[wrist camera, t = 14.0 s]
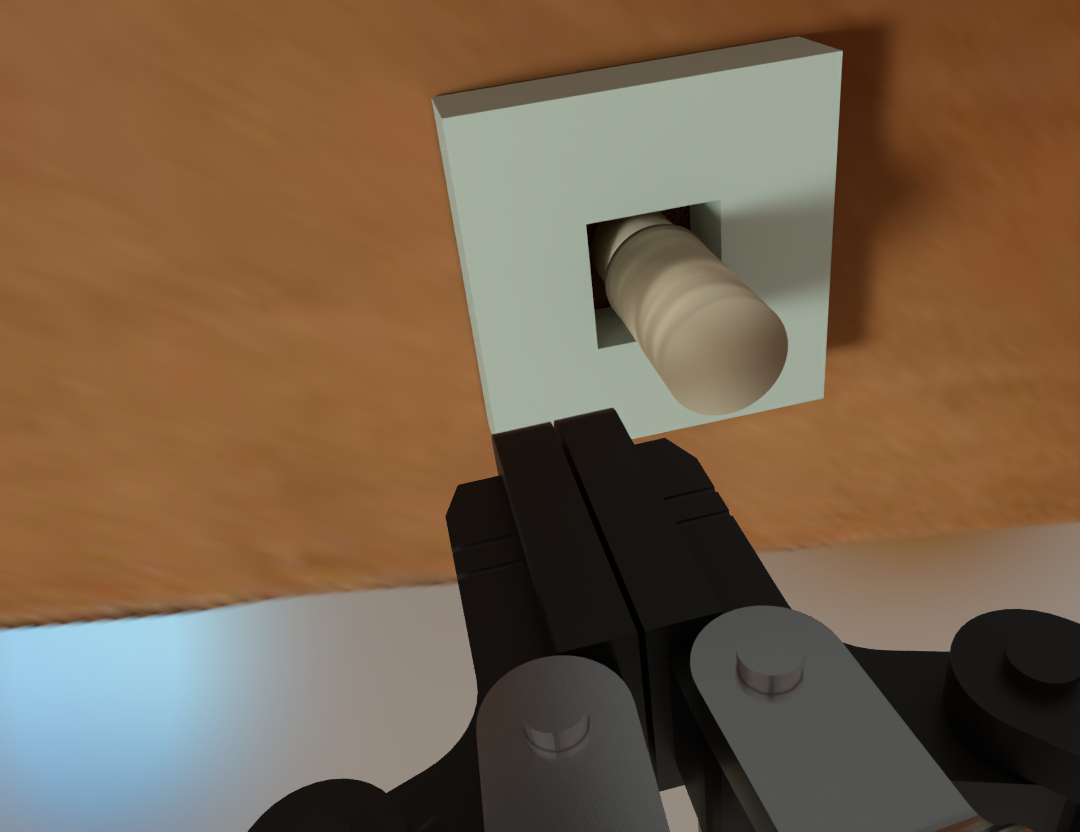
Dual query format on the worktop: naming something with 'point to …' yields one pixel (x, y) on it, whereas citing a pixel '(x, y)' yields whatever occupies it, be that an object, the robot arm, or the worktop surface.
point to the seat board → (631, 189)
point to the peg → (689, 313)
